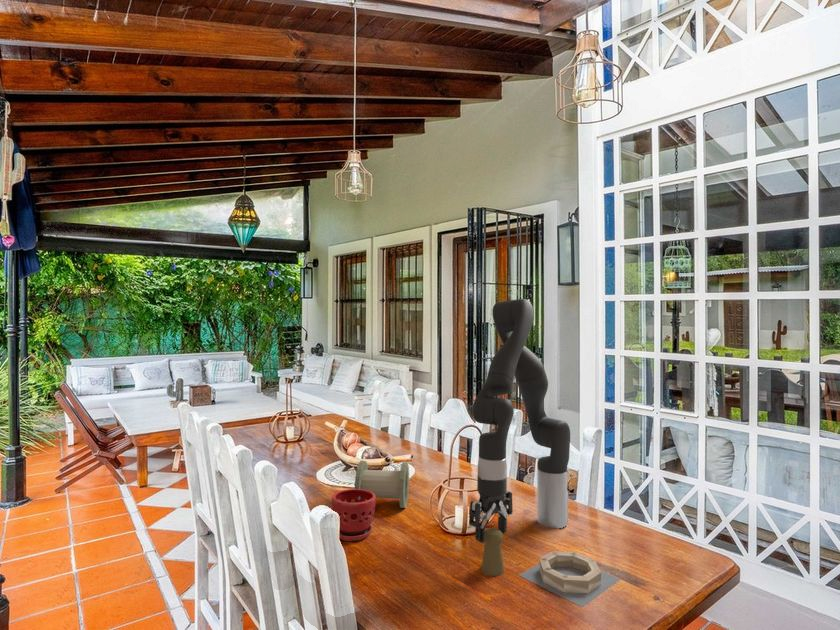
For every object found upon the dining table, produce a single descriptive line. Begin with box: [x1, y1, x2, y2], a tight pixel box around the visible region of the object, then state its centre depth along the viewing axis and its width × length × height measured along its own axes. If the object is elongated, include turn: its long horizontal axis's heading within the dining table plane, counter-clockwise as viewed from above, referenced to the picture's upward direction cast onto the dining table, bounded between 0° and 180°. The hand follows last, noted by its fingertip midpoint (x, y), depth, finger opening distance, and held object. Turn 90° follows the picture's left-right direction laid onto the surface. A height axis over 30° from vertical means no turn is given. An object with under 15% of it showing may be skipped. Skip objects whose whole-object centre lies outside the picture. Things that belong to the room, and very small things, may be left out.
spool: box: [354, 460, 410, 509], centre depth 173 cm, size 16×15×15 cm
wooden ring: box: [538, 551, 602, 593], centre depth 126 cm, size 14×14×3 cm
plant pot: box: [331, 488, 377, 542], centre depth 151 cm, size 13×13×12 cm
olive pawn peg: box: [480, 527, 505, 577], centre depth 129 cm, size 6×6×11 cm
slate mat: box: [518, 563, 621, 608], centre depth 126 cm, size 18×18×1 cm
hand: (491, 536), depth 129 cm, fingers open, 8 cm apart
